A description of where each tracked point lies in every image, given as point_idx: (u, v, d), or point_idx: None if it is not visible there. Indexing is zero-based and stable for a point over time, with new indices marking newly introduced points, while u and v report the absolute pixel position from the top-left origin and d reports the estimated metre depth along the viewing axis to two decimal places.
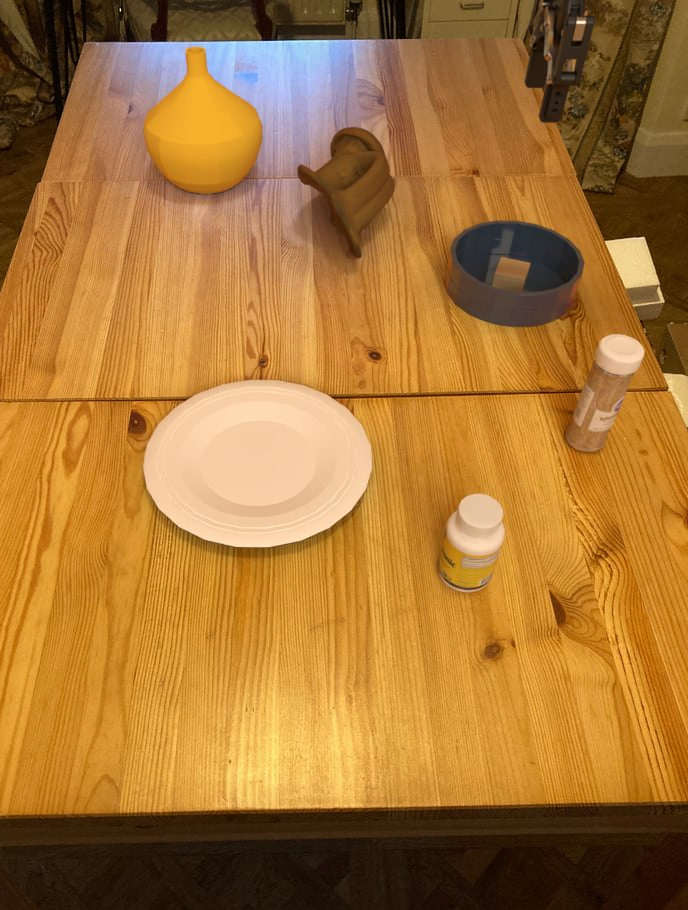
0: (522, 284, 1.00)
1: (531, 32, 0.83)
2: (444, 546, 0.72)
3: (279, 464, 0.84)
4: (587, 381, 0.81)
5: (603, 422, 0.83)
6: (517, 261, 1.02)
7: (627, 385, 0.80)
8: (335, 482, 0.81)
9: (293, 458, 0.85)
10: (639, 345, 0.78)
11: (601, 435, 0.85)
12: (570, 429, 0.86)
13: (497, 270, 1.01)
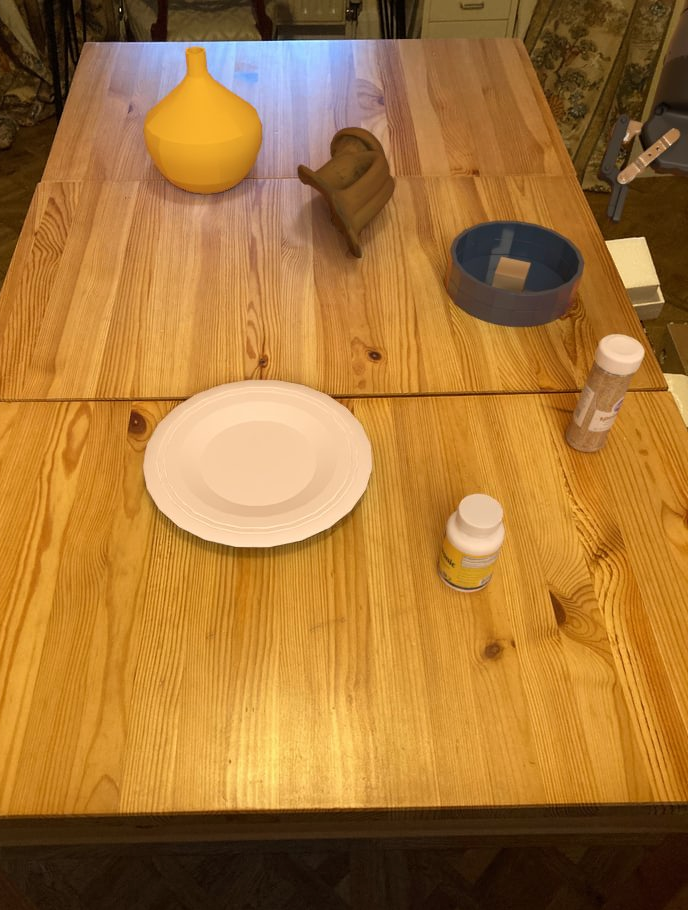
0: (522, 284, 1.00)
1: None
2: (444, 546, 0.72)
3: (279, 464, 0.84)
4: (587, 381, 0.81)
5: (603, 422, 0.83)
6: (517, 261, 1.02)
7: (627, 385, 0.80)
8: (335, 482, 0.81)
9: (293, 458, 0.85)
10: (639, 345, 0.78)
11: (601, 435, 0.85)
12: (570, 429, 0.86)
13: (497, 270, 1.01)
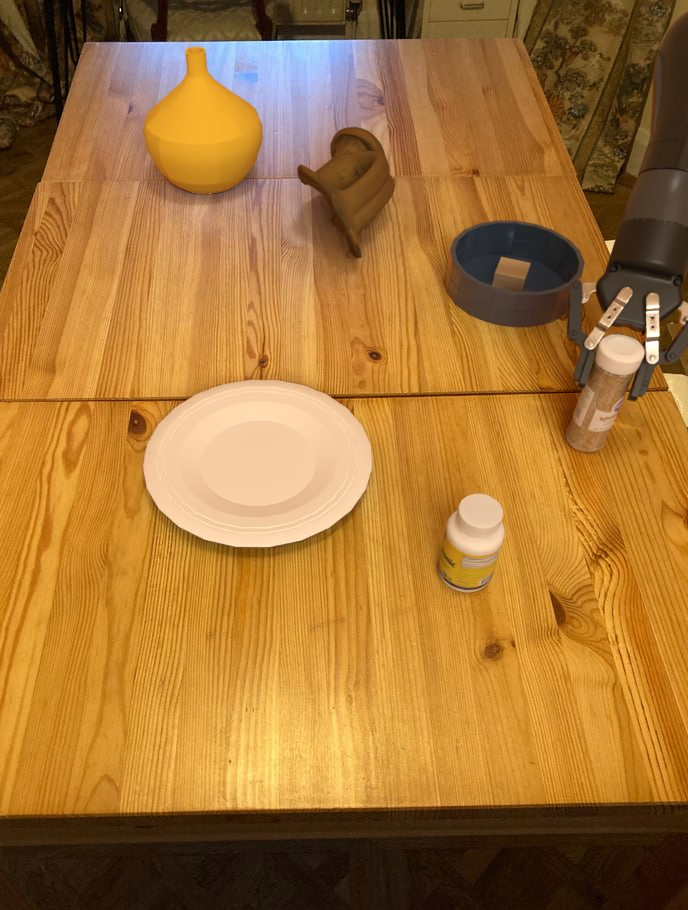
0: (522, 284, 1.00)
1: None
2: (444, 546, 0.72)
3: (279, 464, 0.84)
4: (587, 381, 0.81)
5: (603, 422, 0.83)
6: (517, 261, 1.02)
7: (627, 385, 0.80)
8: (335, 482, 0.81)
9: (293, 458, 0.85)
10: (639, 345, 0.78)
11: (601, 435, 0.85)
12: (570, 429, 0.86)
13: (497, 270, 1.01)
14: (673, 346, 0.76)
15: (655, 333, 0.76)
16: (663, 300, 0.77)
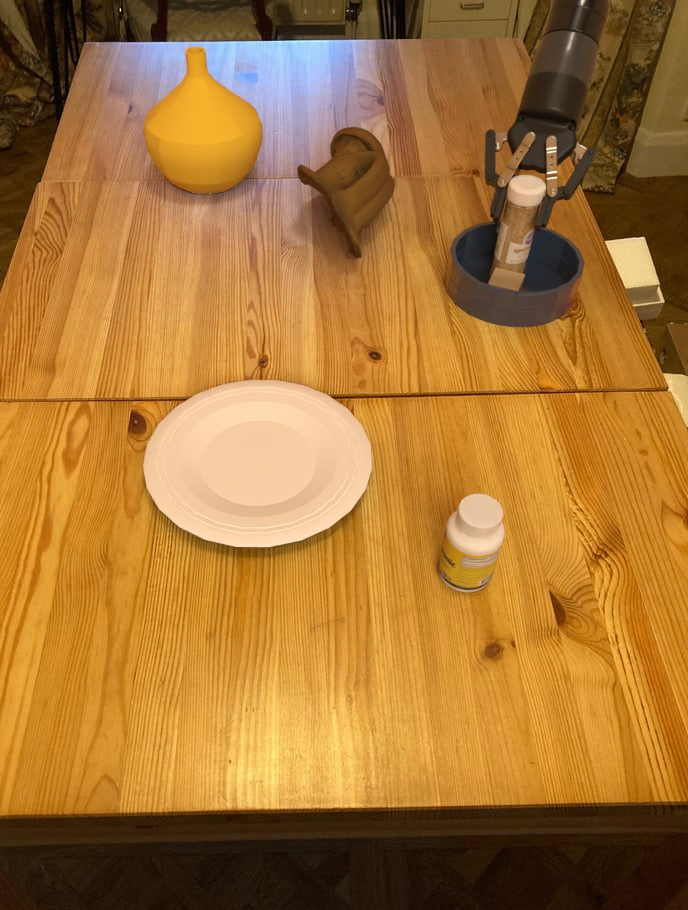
0: None
1: None
2: (444, 546, 0.72)
3: (279, 464, 0.84)
4: (502, 218, 0.98)
5: (517, 254, 0.99)
6: (511, 272, 1.01)
7: (534, 218, 0.96)
8: (335, 482, 0.81)
9: (293, 458, 0.85)
10: (542, 182, 0.94)
11: (517, 268, 1.01)
12: (493, 266, 1.03)
13: (490, 281, 0.99)
14: (568, 181, 0.93)
15: (553, 170, 0.93)
16: (560, 143, 0.93)
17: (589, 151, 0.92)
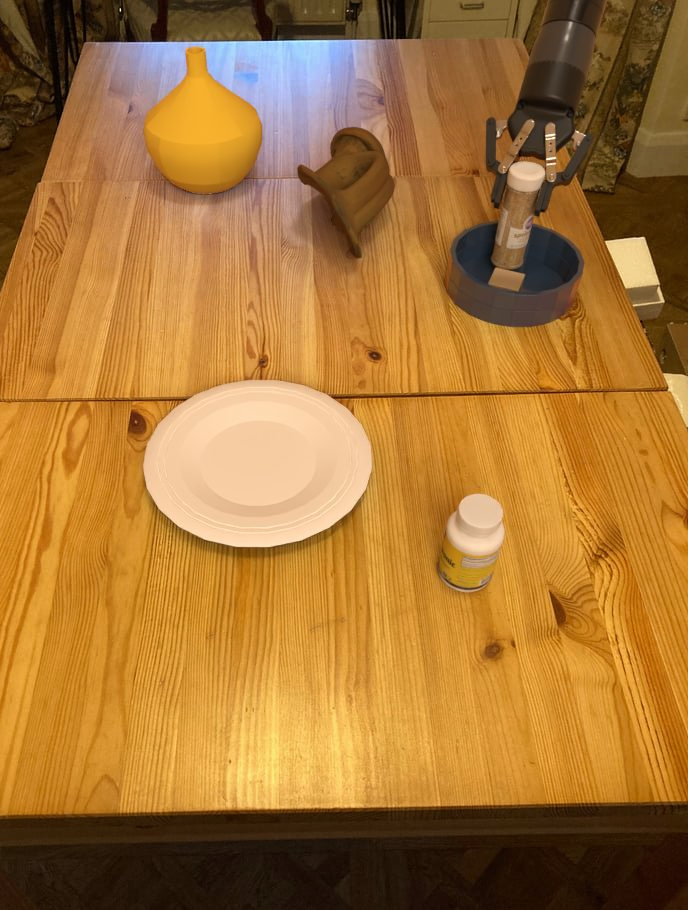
0: None
1: None
2: (444, 546, 0.72)
3: (279, 464, 0.84)
4: (503, 203, 1.00)
5: (517, 239, 1.02)
6: (511, 272, 1.01)
7: (533, 203, 0.99)
8: (335, 482, 0.81)
9: (293, 458, 0.85)
10: (541, 168, 0.97)
11: (517, 253, 1.04)
12: (493, 251, 1.06)
13: (490, 281, 0.99)
14: (567, 166, 0.96)
15: (552, 156, 0.95)
16: (559, 130, 0.96)
17: (587, 137, 0.95)
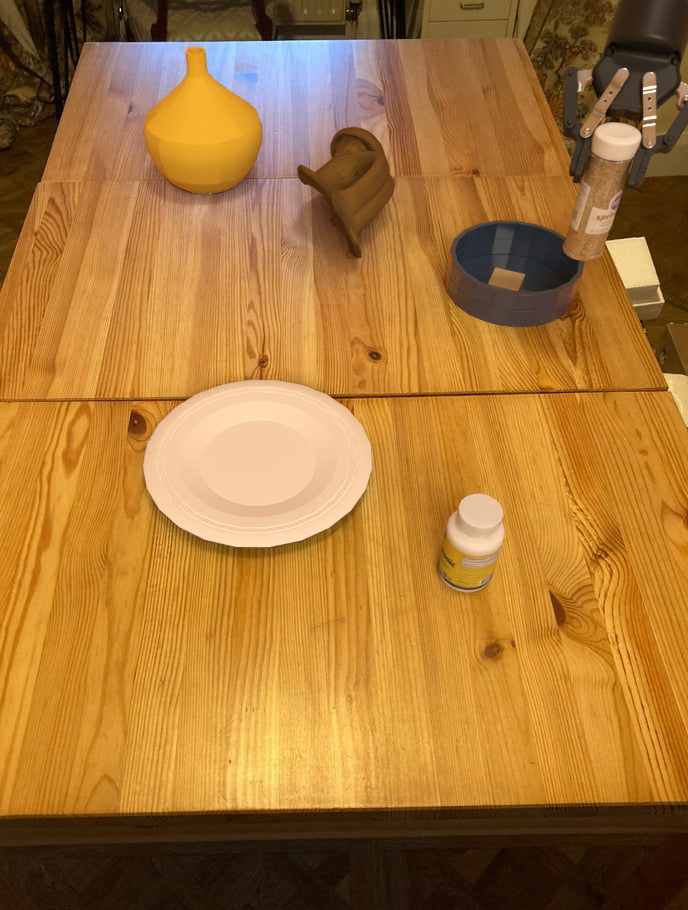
0: None
1: None
2: (444, 546, 0.72)
3: (279, 464, 0.84)
4: (583, 177, 0.80)
5: (600, 222, 0.81)
6: (511, 272, 1.01)
7: (624, 176, 0.78)
8: (335, 482, 0.81)
9: (293, 458, 0.85)
10: (636, 130, 0.76)
11: (598, 239, 0.83)
12: (567, 238, 0.85)
13: (490, 281, 0.99)
14: (671, 128, 0.75)
15: (652, 114, 0.75)
16: (660, 81, 0.75)
17: None
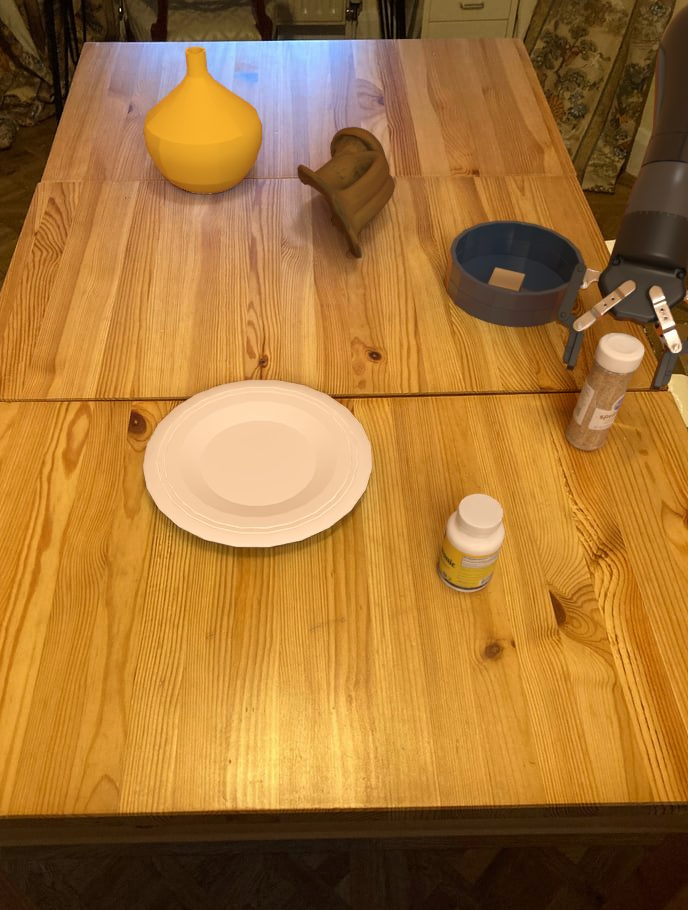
0: None
1: None
2: (444, 546, 0.72)
3: (279, 464, 0.84)
4: (587, 379, 0.81)
5: (603, 421, 0.83)
6: (511, 272, 1.01)
7: (627, 383, 0.80)
8: (335, 482, 0.81)
9: (293, 458, 0.85)
10: (639, 343, 0.78)
11: (601, 433, 0.85)
12: (570, 427, 0.87)
13: (490, 281, 0.99)
14: None
15: (670, 323, 0.76)
16: (666, 293, 0.76)
17: None
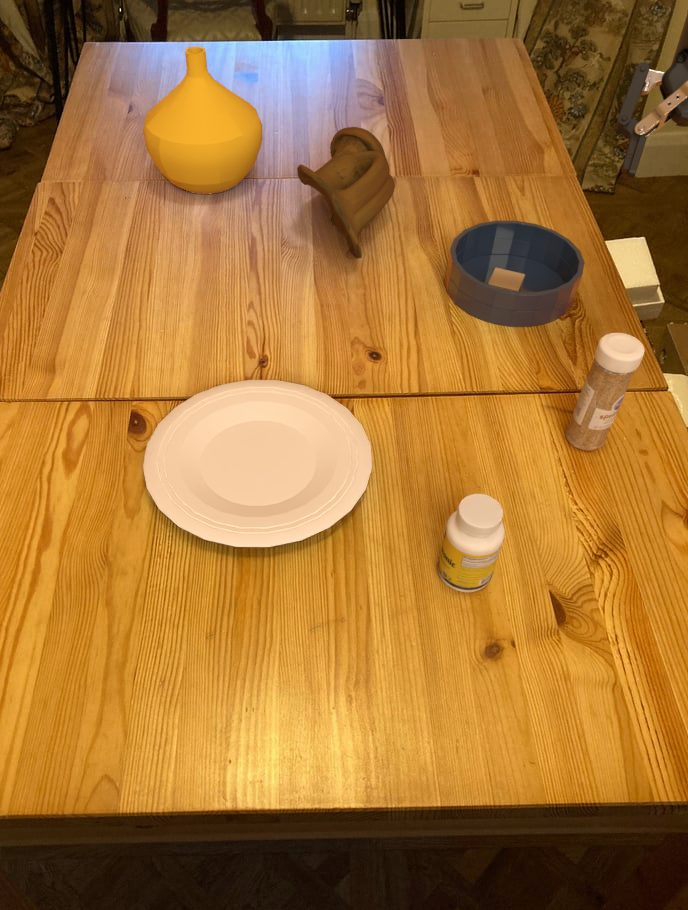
0: None
1: None
2: (444, 546, 0.72)
3: (279, 464, 0.84)
4: (587, 379, 0.81)
5: (603, 421, 0.83)
6: (511, 272, 1.01)
7: (627, 383, 0.80)
8: (335, 482, 0.81)
9: (293, 458, 0.85)
10: (639, 343, 0.78)
11: (601, 433, 0.85)
12: (570, 427, 0.87)
13: (490, 281, 0.99)
14: None
15: None
16: None
17: None
